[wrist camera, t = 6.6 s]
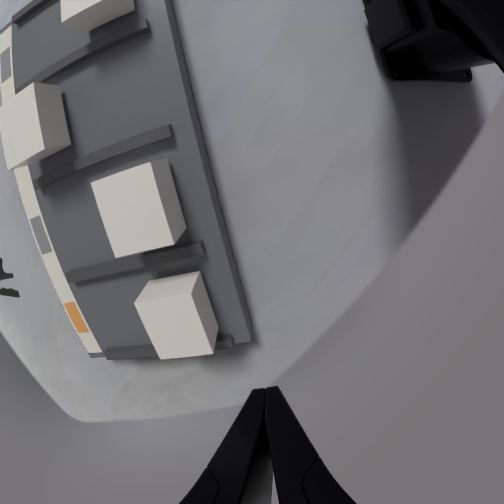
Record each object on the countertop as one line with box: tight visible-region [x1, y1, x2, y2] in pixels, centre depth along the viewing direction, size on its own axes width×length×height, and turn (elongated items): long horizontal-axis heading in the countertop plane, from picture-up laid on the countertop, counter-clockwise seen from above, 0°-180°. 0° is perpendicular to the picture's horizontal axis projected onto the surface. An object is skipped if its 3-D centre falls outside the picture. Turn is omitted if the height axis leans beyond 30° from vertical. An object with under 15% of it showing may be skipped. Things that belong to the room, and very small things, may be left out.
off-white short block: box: [134, 271, 218, 360], centre depth 15 cm, size 3×4×2 cm
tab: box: [0, 82, 71, 170], centre depth 12 cm, size 3×4×2 cm
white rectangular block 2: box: [91, 157, 187, 258], centre depth 13 cm, size 3×4×2 cm
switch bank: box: [0, 0, 252, 360], centre depth 15 cm, size 12×25×3 cm, turn 13°
